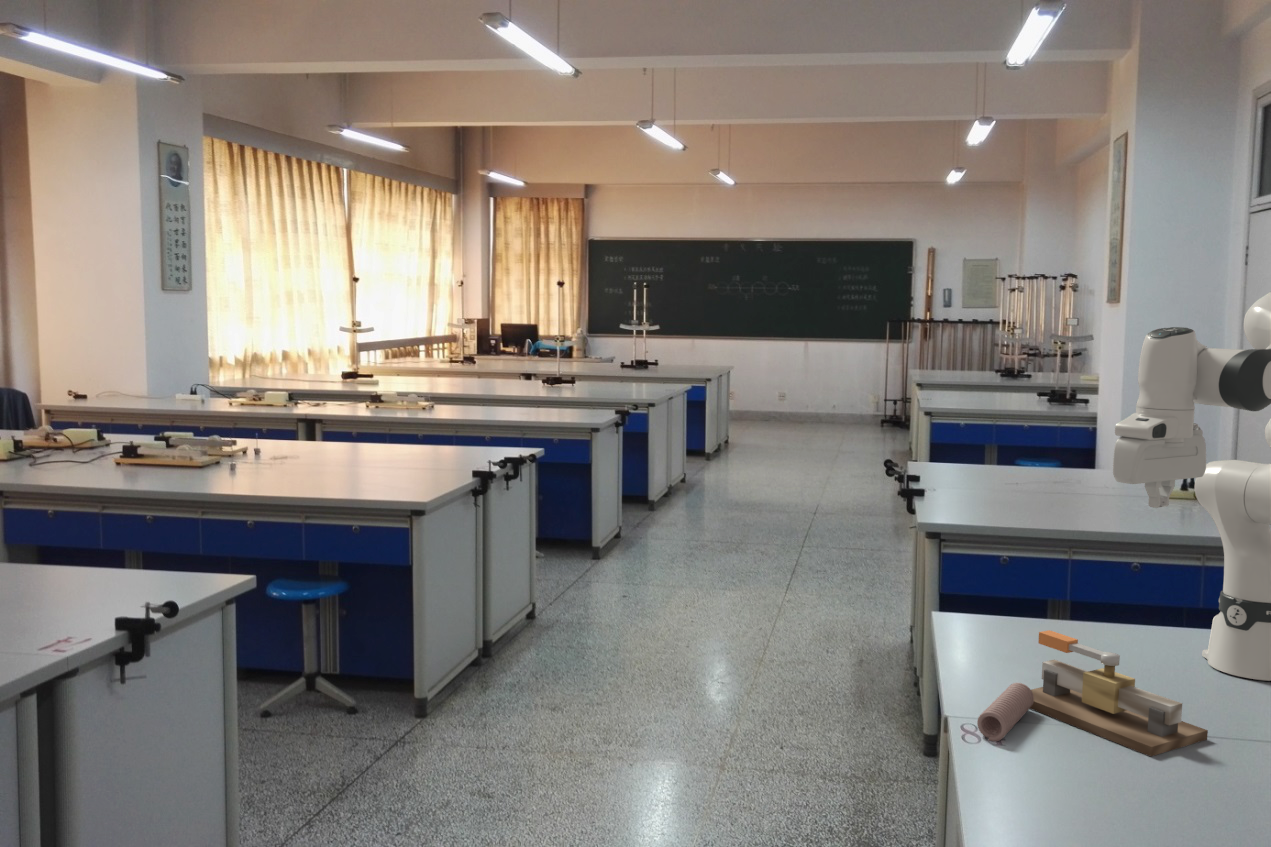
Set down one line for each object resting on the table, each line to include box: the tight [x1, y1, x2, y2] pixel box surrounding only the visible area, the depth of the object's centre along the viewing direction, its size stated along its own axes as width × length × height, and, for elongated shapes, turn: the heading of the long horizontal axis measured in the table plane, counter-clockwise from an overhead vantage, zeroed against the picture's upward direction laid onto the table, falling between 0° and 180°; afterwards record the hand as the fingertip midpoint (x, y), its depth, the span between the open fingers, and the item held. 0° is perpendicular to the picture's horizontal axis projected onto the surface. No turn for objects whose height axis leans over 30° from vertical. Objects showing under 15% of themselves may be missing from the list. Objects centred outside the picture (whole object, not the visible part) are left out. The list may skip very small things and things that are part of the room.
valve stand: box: [1029, 659, 1209, 757], centre depth 181 cm, size 14×26×9 cm, turn 30°
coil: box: [977, 682, 1034, 742], centre depth 179 cm, size 5×5×18 cm
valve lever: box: [1038, 630, 1121, 667], centre depth 186 cm, size 15×3×2 cm, turn 29°
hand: (1158, 506), depth 186 cm, fingers closed
